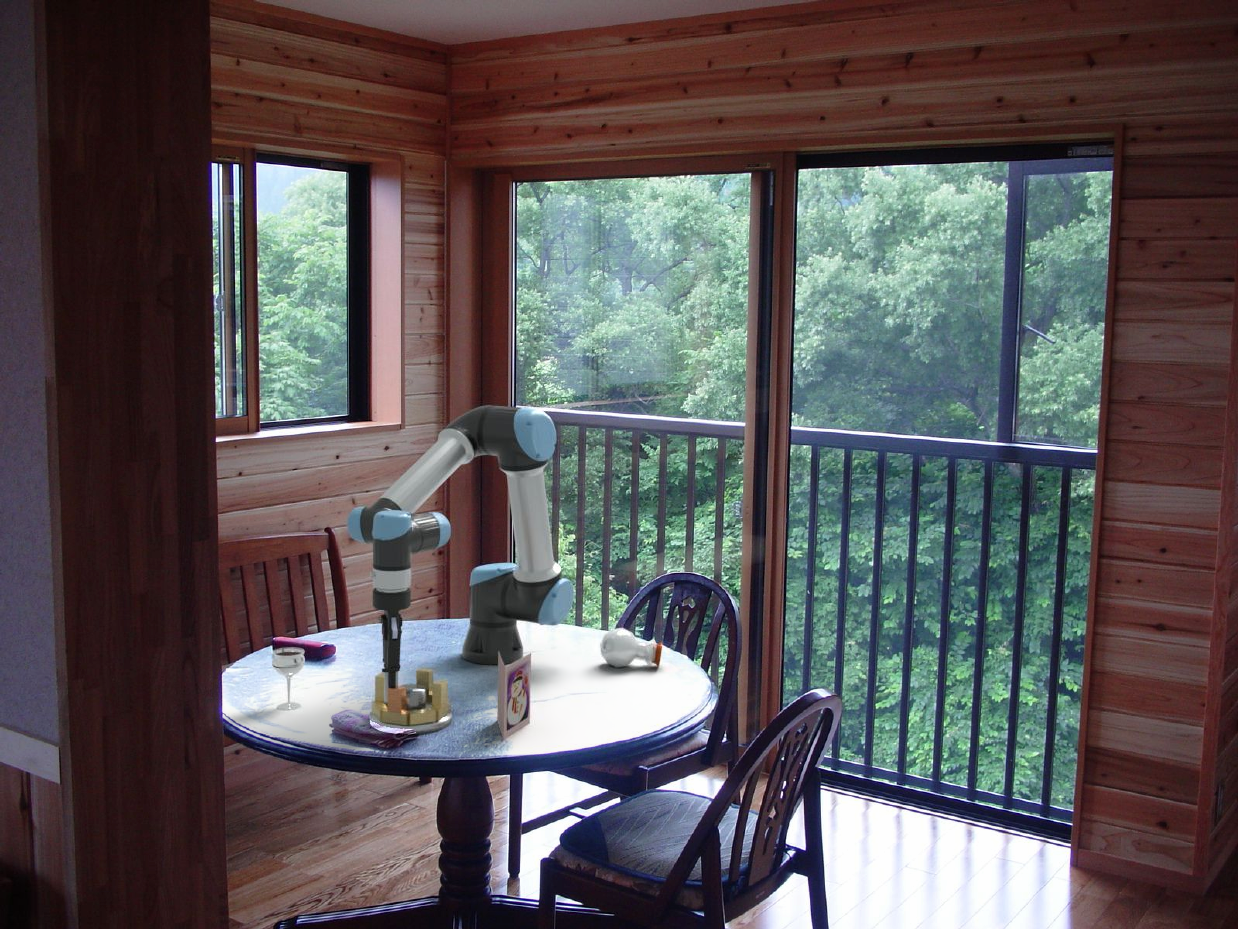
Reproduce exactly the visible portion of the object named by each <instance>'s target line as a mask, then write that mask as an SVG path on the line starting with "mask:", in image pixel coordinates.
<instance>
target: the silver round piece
mask: <svg viewBox="0 0 1238 929" xmlns="http://www.w3.org/2000/svg"><path fill="white" fill-rule="evenodd" d="M400 686H402V687H406V711H414V710H422V709H429V708H432V705H426V687H425V686H423V685H420V684H416V683H407V684H401V685H400ZM368 716H369V717H368V718H369V719H370V720H371V721H372V722H375V723H377V724H379V725H380V726H386V727H390V728H400V729H403V728H404V729H413V730H414V732H416V733H417V734H418V735H424V734H426V735H427V734H431V733H436V732H438V731H441V730H443V729H445V728H447V727H449V726H450V725H451V723H452V722H453V711H452V710H451V708H450V712H449V713H448V714H447V715H445V716H444V717H442V718H441V719H440V720H436V721H435V722H428V723H421V724H414V725H410V724H407V725H402V724H395V723H388V722H382V721H379V720H378V719H377V718H376V717H375V715H374V714H373V713H372V710H371V711H370V713H369V715H368Z"/></svg>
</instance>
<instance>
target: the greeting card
mask: <svg viewBox="0 0 1238 929" xmlns="http://www.w3.org/2000/svg"><path fill="white" fill-rule="evenodd" d="M497 665H498V666H497V667H498V668H497V713H496V714H497V724H498V727H499V730H500V732H501V736H502V739H503V740H506V739H507V738H509V737H510V736H512V735H513V734H515V733H516V732H518V731H519V730H521V729H523V728H524V727H525V726H527V725H528V724H530V721H531V677H532V674H531V672H532V652H529V654H528V653H527V654H526V655H525V656H524V655H523V657H522V658H521V659H519V660H517V661H515V662H511V663H509V664H508V665H506V666H505V664H504V663H503V661H502V658H501V656H500V653H499V651H498V664H497Z"/></svg>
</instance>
